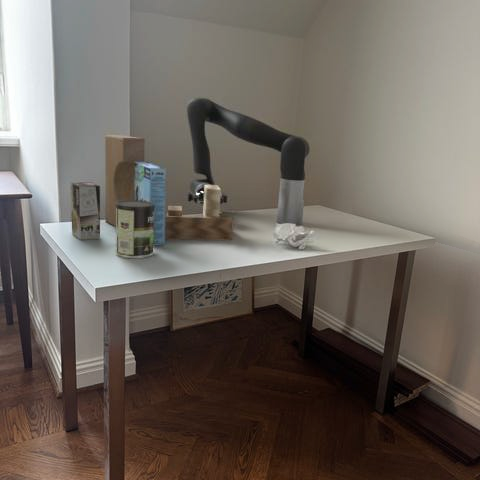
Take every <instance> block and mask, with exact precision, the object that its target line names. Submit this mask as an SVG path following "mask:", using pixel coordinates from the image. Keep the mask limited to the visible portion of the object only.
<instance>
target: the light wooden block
mask: <svg viewBox="0 0 480 480" xmlns="http://www.w3.org/2000/svg"><path fill="white" fill-rule="evenodd" d="M221 193H222V190H221V188H220V186H219V185H218V184H215V185H204V205H203V204H202V206H203V208H202V209H203V210H202V211H203V212H202V217H213V218H220V211H221V204H220V196H221Z"/></svg>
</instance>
